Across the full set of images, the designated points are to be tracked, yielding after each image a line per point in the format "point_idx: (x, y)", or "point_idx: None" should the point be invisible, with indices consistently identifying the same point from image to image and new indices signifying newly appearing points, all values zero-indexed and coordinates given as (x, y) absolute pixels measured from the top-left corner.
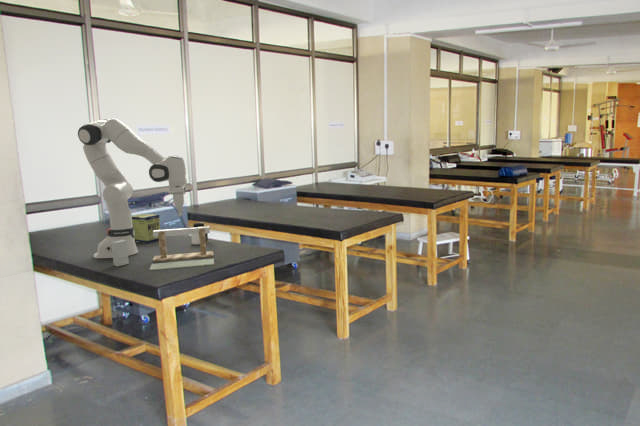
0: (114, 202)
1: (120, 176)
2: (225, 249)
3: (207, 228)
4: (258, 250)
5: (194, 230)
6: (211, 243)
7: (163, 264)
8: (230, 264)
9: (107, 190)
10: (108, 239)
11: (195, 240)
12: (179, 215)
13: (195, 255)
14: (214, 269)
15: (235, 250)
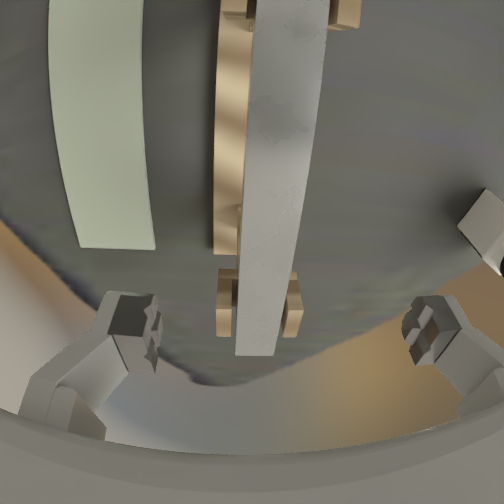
0: None
1: None
2: (321, 291)
3: (235, 342)
4: (247, 360)
5: (238, 274)
6: (448, 253)
7: (108, 34)
8: (84, 287)
9: None
10: None
11: (484, 210)
12: (108, 305)
13: (229, 180)
14: (32, 242)
15: None
